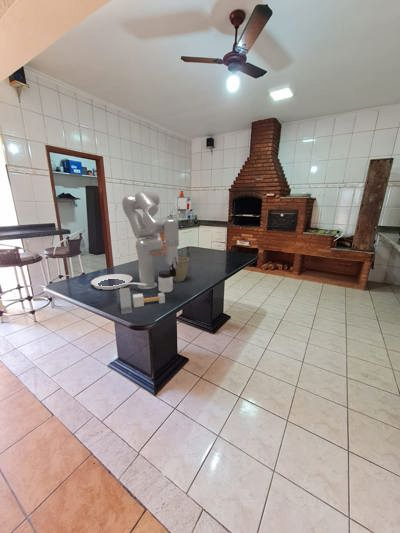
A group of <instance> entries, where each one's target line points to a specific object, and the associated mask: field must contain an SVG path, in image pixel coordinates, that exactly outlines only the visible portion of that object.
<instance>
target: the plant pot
mask: <svg viewBox="0 0 400 533" xmlns="http://www.w3.org/2000/svg"><path fill="white" fill-rule="evenodd" d="M189 263H190V259H189V257H186V256H178V264H177V265H176V276H174V277H173V282H177V283H181V282H184V281H185V279H186V277H187V273H188V267H189Z"/></svg>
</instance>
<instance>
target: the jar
mask: <svg viewBox="0 0 400 533" xmlns="http://www.w3.org/2000/svg"><path fill="white" fill-rule="evenodd" d="M157 278H158V280H157V281H158V291H159V292H160V293H164V294H165V293H171V292H172V291H173V290H174V285H173V284H174V280H173V277H170V271H169V269H168V270H160V271H158V276H157Z"/></svg>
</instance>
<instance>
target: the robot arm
mask: <svg viewBox="0 0 400 533" xmlns="http://www.w3.org/2000/svg"><path fill="white" fill-rule="evenodd" d="M121 203H122V204H121V205H122V210H123V212H124V214H125V216H126V217H127V219H128V221H129V224H130V226H131V229H132V233H133V235H134V237H135V238H136V239H139V240H136V243H135V249H136V253H137V258H138V259H137V260H138V275H139V283H144V284H147V285H146V286H143V285H137V288H138V289H140V290H153V289H155V288H156V287H158V284H157V282H155V266H154V265H155V263H154V262H155V261H154V258H153V257H152V255H151V254H154V253H155V254H156V253H160V252H162V251H163V249H164V247H165V263H166V264H167V265H168V267H169V269H168V271H170V277H174V276H176V265H177V264H178V257H179V249H178V247H179V246H180V244H179V243H180V241H179V240H180V239H179V238H180V237H179V236H180V235H179V233H180V232H179V220H178V219H174V218H166V217H165V218H153V217H155V215H156V214H158V211H159V206H158V205H159V204H160V197H159V195H158V193H157V192H154V191H153V192H152V191H139V192H137V193H136V194H135V195H127V196H124V197H123V198H122V201H121ZM137 210H141V211H142V212H143V213H142V215H141V213H139V212H138V211H137ZM161 233H163V234H164V236H163V238H164V239H162V236H161ZM163 240H164V243H163Z"/></svg>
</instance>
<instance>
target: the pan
mask: <svg viewBox="0 0 400 533" xmlns="http://www.w3.org/2000/svg"><path fill="white" fill-rule="evenodd" d="M108 279H119V280H123V281H125V283H122V284H119V285H113V286H102V285H101V286H99V285H98V283H100V282H101V281H104V280H108ZM131 281H133V276H131V275H129V274H125V273H114V274H113V273H111V274H106V275H100V276H98V277H95V278H93V279H92V280H91V281H90V283H91V285H93V287H94V288H95V289H97V290H100V289H102V290H101V291H113V289H114V290H119V288H120V289H121V288H127V287H128V286H129V285H136V286H138V285H143V286H146V285H147V284H144V283H140V282H131Z"/></svg>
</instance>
